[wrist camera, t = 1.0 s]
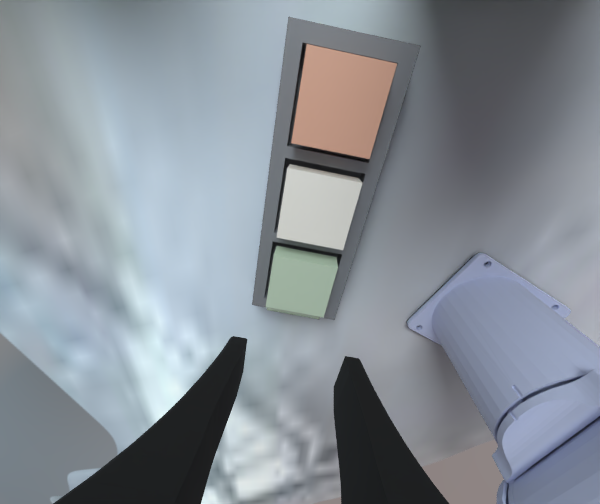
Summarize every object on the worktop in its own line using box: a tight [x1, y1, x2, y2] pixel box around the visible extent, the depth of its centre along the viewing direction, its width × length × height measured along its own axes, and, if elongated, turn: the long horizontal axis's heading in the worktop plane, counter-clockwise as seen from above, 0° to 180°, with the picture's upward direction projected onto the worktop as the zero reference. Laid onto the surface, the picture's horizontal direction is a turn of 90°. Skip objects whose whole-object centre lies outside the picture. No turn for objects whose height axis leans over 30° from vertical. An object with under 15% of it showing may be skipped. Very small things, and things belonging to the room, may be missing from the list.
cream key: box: [276, 164, 362, 250], centre depth 15 cm, size 4×4×1 cm
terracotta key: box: [291, 44, 397, 159], centre depth 13 cm, size 4×4×1 cm
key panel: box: [252, 17, 421, 320], centre depth 17 cm, size 17×6×2 cm, turn 170°
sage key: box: [266, 246, 338, 318], centre depth 17 cm, size 4×4×1 cm
